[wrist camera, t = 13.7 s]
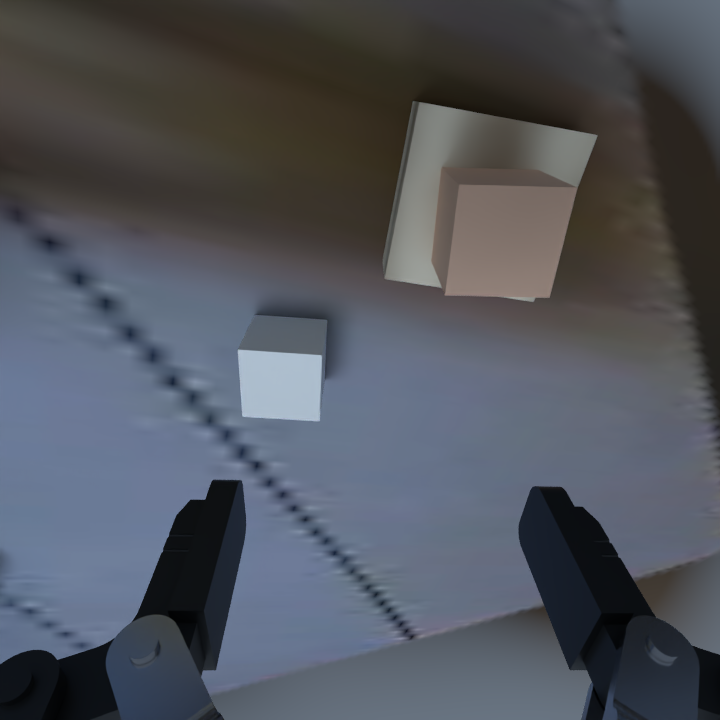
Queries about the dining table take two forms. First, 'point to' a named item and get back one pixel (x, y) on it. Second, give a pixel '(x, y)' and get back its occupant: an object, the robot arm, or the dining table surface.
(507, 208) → the terracotta cube
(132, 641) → the robot arm
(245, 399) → the offwhite cube
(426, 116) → the gray block
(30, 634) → the dining table surface
